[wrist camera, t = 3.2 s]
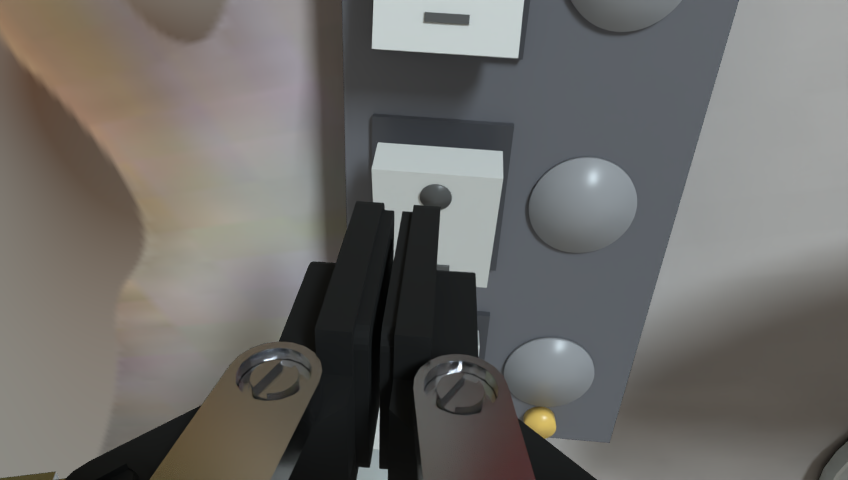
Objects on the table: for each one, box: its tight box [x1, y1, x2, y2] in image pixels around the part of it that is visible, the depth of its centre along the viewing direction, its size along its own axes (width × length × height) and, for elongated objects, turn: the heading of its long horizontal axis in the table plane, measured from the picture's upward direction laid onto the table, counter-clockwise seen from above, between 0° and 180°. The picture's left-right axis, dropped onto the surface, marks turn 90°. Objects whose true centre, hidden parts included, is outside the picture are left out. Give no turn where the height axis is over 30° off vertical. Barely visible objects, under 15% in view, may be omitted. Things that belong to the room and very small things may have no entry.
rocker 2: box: [372, 142, 503, 288], centre depth 20 cm, size 5×4×2 cm
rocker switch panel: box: [342, 0, 739, 443], centre depth 25 cm, size 30×12×4 cm, turn 177°
